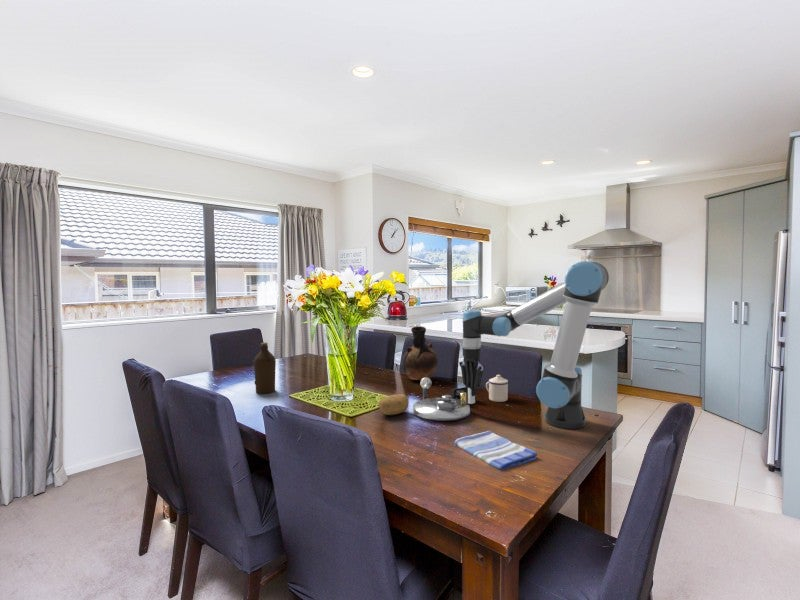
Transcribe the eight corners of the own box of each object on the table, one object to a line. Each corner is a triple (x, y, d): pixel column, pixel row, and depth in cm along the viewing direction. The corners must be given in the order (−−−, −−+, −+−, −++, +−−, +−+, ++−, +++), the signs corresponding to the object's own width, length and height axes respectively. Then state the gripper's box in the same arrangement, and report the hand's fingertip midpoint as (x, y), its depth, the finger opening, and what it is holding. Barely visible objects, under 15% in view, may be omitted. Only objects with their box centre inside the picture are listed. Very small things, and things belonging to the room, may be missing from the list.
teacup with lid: (512, 399, 199) (512, 375, 198) (499, 403, 193) (499, 378, 193) (492, 394, 208) (492, 370, 208) (479, 397, 203) (480, 373, 202)
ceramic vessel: (429, 374, 250) (429, 324, 248) (444, 381, 234) (444, 327, 232) (396, 378, 241) (396, 326, 239) (409, 385, 225) (409, 329, 223)
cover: (458, 410, 174) (458, 398, 174) (440, 411, 172) (440, 399, 172) (452, 404, 182) (452, 392, 182) (434, 405, 180) (434, 394, 180)
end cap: (467, 398, 201) (467, 385, 200) (477, 402, 195) (477, 388, 194) (450, 402, 196) (450, 387, 196) (459, 406, 190) (459, 391, 190)
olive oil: (280, 389, 218) (279, 341, 217) (267, 395, 208) (266, 345, 207) (263, 387, 222) (262, 340, 220) (250, 393, 212) (248, 344, 210)
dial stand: (431, 404, 192) (431, 377, 191) (421, 405, 191) (420, 378, 190) (429, 402, 196) (429, 375, 195) (418, 402, 195) (418, 376, 194)
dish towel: (490, 435, 156) (490, 428, 156) (539, 460, 136) (539, 451, 136) (452, 445, 148) (452, 437, 148) (499, 473, 127) (499, 464, 127)
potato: (373, 414, 180) (373, 395, 179) (400, 408, 187) (400, 390, 187) (385, 420, 171) (385, 401, 171) (413, 414, 179) (413, 395, 179)
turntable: (421, 422, 165) (421, 405, 165) (407, 404, 189) (407, 388, 188) (478, 418, 170) (478, 401, 170) (458, 400, 194) (458, 385, 193)
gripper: (489, 348, 173) (489, 405, 174) (467, 344, 183) (467, 397, 185) (476, 350, 168) (476, 408, 170) (454, 346, 179) (454, 400, 181)
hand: (471, 402), depth 177 cm, fingers closed
